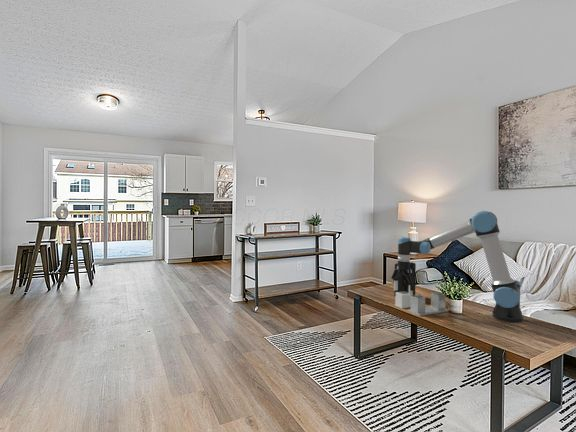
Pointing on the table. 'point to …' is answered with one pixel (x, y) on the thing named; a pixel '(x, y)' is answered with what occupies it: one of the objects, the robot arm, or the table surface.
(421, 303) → the grey stepped block
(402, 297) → the module
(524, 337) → the table surface
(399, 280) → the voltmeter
